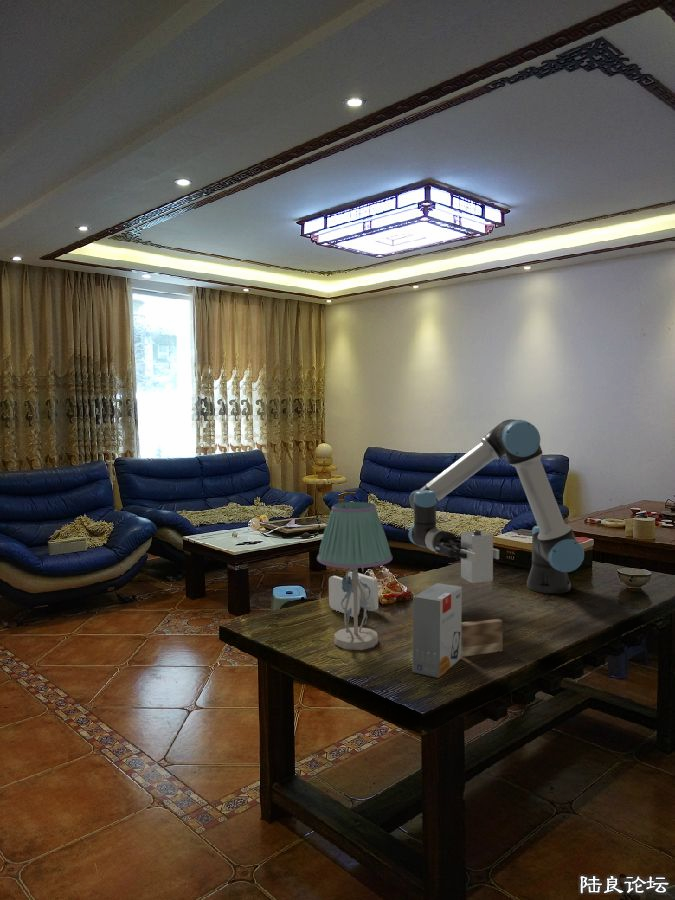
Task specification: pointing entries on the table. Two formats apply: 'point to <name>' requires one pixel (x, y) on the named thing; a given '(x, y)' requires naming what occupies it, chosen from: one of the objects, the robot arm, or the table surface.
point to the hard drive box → (436, 629)
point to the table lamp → (354, 561)
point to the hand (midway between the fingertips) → (486, 556)
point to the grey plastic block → (338, 595)
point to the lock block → (477, 556)
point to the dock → (481, 637)
